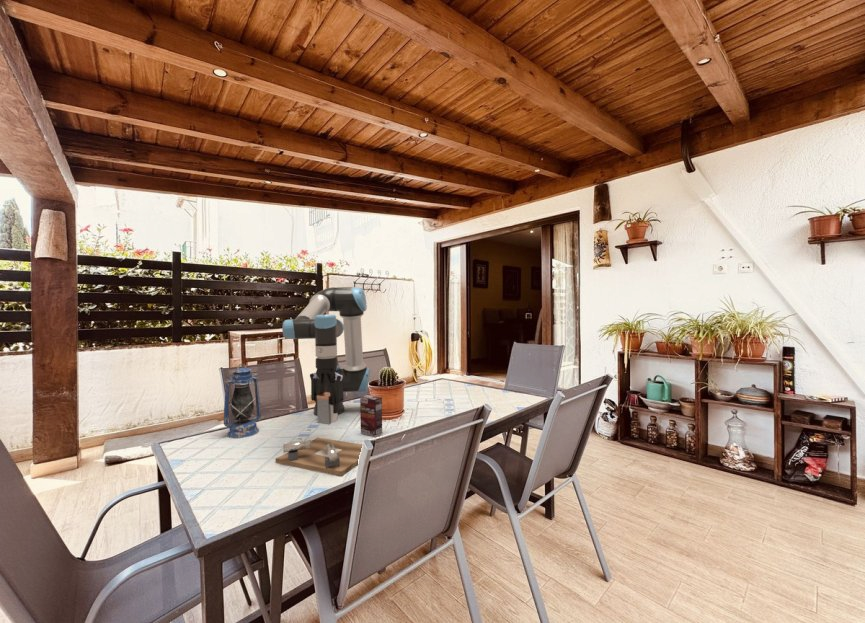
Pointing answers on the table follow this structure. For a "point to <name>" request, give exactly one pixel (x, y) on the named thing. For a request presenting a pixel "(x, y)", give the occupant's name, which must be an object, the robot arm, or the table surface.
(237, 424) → the lantern
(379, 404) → the supplement box
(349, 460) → the cradle board
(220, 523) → the table surface
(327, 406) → the block
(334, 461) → the shaft
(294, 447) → the shaft
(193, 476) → the table surface
